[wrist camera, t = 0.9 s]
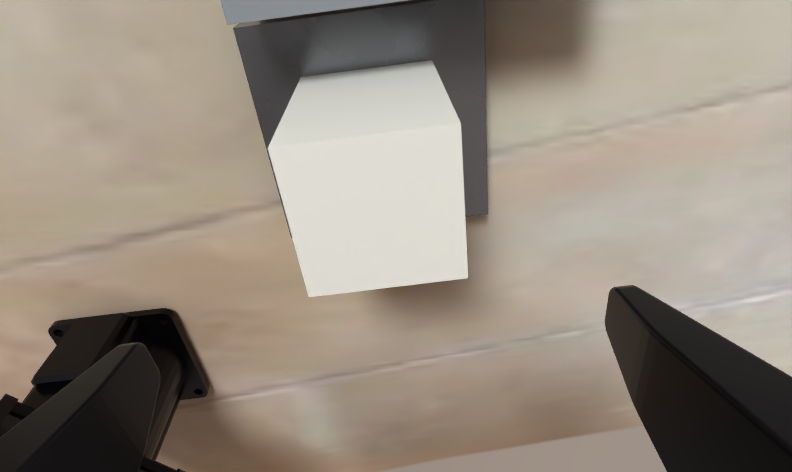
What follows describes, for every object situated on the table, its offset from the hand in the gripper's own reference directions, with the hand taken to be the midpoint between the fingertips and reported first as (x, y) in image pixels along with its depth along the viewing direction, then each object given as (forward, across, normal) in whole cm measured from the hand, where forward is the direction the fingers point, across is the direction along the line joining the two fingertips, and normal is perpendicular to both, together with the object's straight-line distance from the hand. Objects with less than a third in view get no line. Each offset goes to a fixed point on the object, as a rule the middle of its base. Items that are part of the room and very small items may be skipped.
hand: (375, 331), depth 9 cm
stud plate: (+13, 0, 0) cm, 13 cm away
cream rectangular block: (+12, 0, 0) cm, 12 cm away
